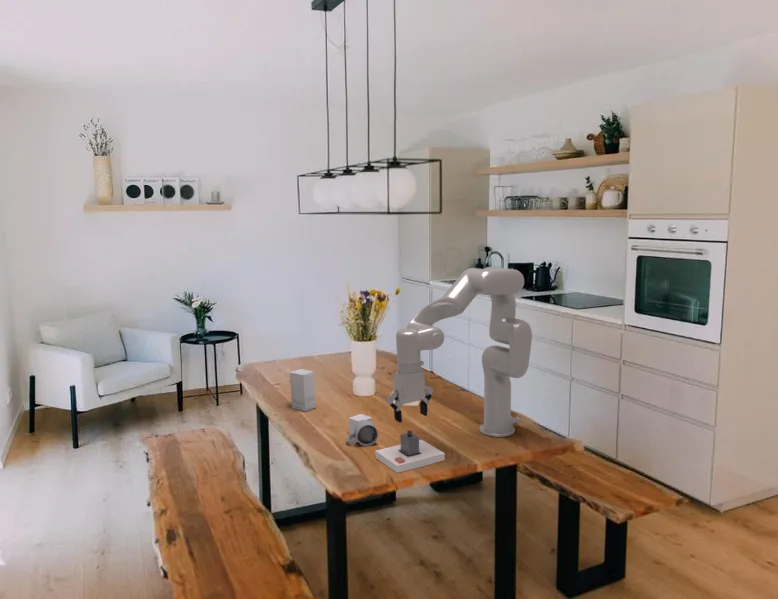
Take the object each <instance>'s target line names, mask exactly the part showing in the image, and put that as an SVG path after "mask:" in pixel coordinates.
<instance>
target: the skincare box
mask: <svg viewBox="0 0 778 599" xmlns="http://www.w3.org/2000/svg"><path fill="white" fill-rule="evenodd" d="M289 382H290V396H291V407H292V409H294V410H297V411H298V410H299V411H302V412H308V411H311V410H314V409H316V408H317V399H316V385H315V371H313V370H308V369H304V368H299V369H296V370H293V371H290V372H289Z"/></svg>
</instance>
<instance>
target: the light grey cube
mask: <svg viewBox="0 0 778 599" xmlns="http://www.w3.org/2000/svg"><path fill="white" fill-rule="evenodd" d="M361 420H368V421H370V422H372V423H373V417H372V416H368V415H366V414H363V413H359V414H357V415H354V416H351V417H348V434H349V435H351V434H353V433H354V428H355V425H356V424H357V423H358V422H359V421H361Z"/></svg>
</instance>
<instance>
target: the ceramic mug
mask: <svg viewBox="0 0 778 599" xmlns="http://www.w3.org/2000/svg"><path fill="white" fill-rule="evenodd" d="M378 438H379V430H378V428H377V427H376V426H375V425H374V424H373V421H372V422H370V421H368V420H361V421H359V422H358V423H357V424H356V425H355V428H354V433H353V434H349V435H348V436H347V438H346V443H347V444H348V445H350V446H351V445H355V444H356V443H358V444H360V445H361V446H364V447H370V446H372V445H374V444H375V443H376V442H377V440H378Z"/></svg>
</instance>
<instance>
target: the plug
mask: <svg viewBox="0 0 778 599" xmlns="http://www.w3.org/2000/svg"><path fill="white" fill-rule="evenodd" d="M419 440H420V437H419V436H418V435H416V434H415V433H413V431H412V430H410V429H409V430H407V432H406V433H402V434H401V433H400V445H401V453H402V454H404V455H405V456H407V457H411V456H415V455H419Z"/></svg>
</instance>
